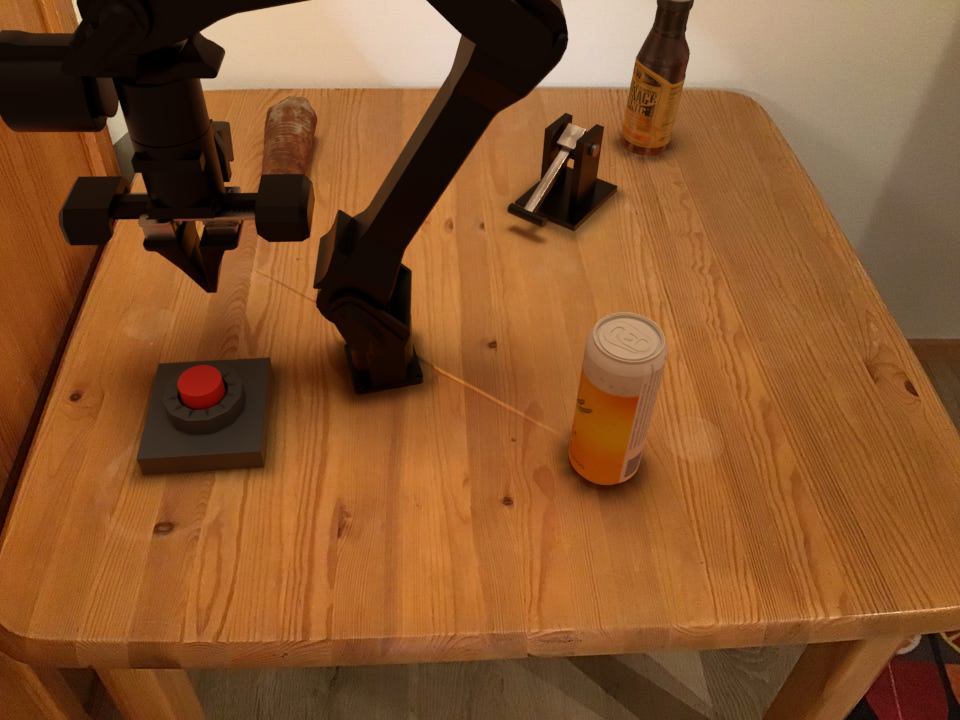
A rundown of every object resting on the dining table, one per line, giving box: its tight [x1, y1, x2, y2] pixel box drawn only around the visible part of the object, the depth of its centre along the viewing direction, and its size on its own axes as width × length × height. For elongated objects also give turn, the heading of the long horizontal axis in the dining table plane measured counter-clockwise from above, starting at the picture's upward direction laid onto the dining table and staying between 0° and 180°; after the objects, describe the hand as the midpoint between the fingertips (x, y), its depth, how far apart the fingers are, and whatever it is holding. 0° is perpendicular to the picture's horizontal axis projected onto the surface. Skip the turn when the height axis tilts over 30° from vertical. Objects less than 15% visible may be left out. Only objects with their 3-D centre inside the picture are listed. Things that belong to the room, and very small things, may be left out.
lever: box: [506, 123, 588, 228], centre depth 93 cm, size 12×4×2 cm, turn 145°
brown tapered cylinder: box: [261, 95, 318, 176], centre depth 100 cm, size 6×19×6 cm, turn 1°
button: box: [177, 365, 225, 410], centre depth 72 cm, size 4×4×2 cm
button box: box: [136, 356, 274, 476], centre depth 74 cm, size 11×10×4 cm
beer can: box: [568, 311, 669, 486], centre depth 68 cm, size 6×6×15 cm
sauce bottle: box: [621, 0, 695, 156], centre depth 102 cm, size 7×6×20 cm
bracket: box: [514, 112, 618, 232], centre depth 96 cm, size 10×8×10 cm
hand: (213, 289), depth 73 cm, fingers closed
